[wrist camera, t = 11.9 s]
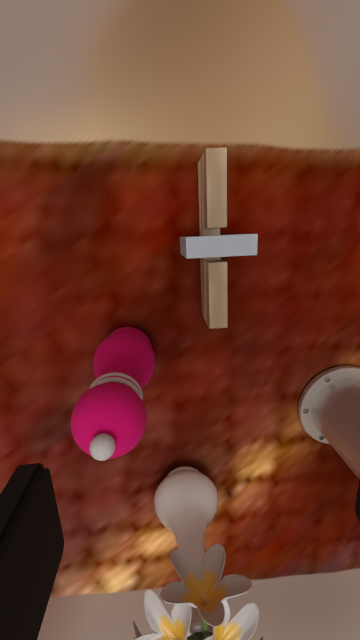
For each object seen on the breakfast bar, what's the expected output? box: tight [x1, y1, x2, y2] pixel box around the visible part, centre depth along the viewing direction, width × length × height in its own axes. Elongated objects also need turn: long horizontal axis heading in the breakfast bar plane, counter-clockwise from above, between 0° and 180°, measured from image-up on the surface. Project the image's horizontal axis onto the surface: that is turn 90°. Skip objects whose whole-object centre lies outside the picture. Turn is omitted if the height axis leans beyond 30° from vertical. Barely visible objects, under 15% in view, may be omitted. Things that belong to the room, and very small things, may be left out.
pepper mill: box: [71, 327, 155, 461], centre depth 30 cm, size 7×7×20 cm
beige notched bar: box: [198, 148, 227, 329], centre depth 34 cm, size 2×18×6 cm, turn 3°
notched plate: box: [180, 234, 258, 259], centre depth 33 cm, size 2×7×8 cm, turn 93°
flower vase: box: [133, 466, 263, 640], centre depth 34 cm, size 13×18×25 cm
